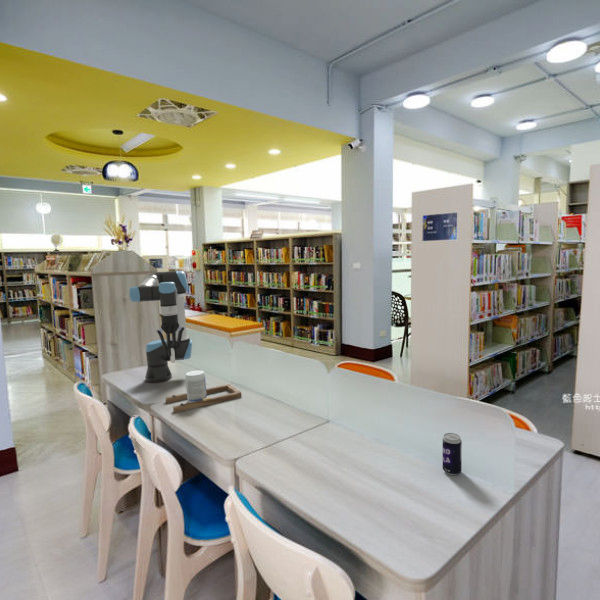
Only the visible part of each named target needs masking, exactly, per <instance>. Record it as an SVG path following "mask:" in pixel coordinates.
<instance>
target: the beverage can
mask: <svg viewBox="0 0 600 600" xmlns="http://www.w3.org/2000/svg"><path fill="white" fill-rule="evenodd" d="M462 445H463V444H462V439H461V436H460V435H459V434H457V433H455V432H447V433H444V434H443V437H442V470H443V471H444V472H445V473H446V474H447V475H450V476H458V475H459V474H460V473H461V472H462V461H463V460H462V455H463V454H462V453H463V451H462V447H463V446H462Z"/></svg>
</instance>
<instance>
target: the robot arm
mask: <svg viewBox="0 0 600 600" xmlns="http://www.w3.org/2000/svg"><path fill="white" fill-rule="evenodd" d="M188 290H189V284H188V280H187V275H186V273H185V271H183V270H172V271H157V272H152V273H150V274H147V275H145V276H144V277H143V278H142V280H141V282H140V284H139V285H137V286H131V287H129V293H128V294H129V300H130V301H131V302H133V303H139V302H140V303H141V302H155V301H159V304H160V305H159V307H160V320H161V324H160V328H159V329H157V330H156V333H157V334H158V336H159V338H160V339H157V340H153V341H150V342H148V343H147V344H146V345H145V353H146V362H147V364H146V365H147V368H146V374H145V380H144V381H145V382H147V383H160V382H161V383H162V382H166V381H169V380H171V379H172V378H173V374H172V371H171V369H170V367H169V362H170V363H172V364H174V363H176V361H184V360H189V359H191V357H192V349H193V348H192V347H193V339H190V336H189V335H188V334H187V323H186V321H187V320H186V309H185V308H186V307H185V306H186V305H185V295H186V294H187V291H188ZM163 332H164V333H165V336H166V339H165V338H164V335H163Z"/></svg>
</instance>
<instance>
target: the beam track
mask: <svg viewBox="0 0 600 600" xmlns="http://www.w3.org/2000/svg"><path fill="white" fill-rule="evenodd" d="M224 391H228V392H230V393H227V394H222V395H218V396H212V397H210V396H209V397H208V396H207V398H203V399H202V400H200V401H195V402H191V403H189V402H186V403H180V404H179V405H173V406H172V409H173V410H172V411H173V413H180V412H183V411H188V410H193V409H195V408H201V407H205V406H209V405H213V404H217V403H222V402H225V401H231V400H234V399H239V398H241V397H242V396H243V395H242V392H241V391H240V390H238V389H237V388H236V387H234V386H233V385H231V384H230V383H227V384H222V385H219V386H218V385H217V386H212V387H208V388H206V393H207V395H210V394H211V395H212V394H214V393H218V392H224ZM184 400H187V392H185V393H181V394H177V395H176V394H172V395H171V396H167V397H165V403H166V404H170V403H173V402H179V401H184Z"/></svg>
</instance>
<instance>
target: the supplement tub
mask: <svg viewBox="0 0 600 600" xmlns="http://www.w3.org/2000/svg"><path fill="white" fill-rule="evenodd" d="M185 386H186V387H185V388H186V393H187V399H186V400H187V403H191V402H195V401H200V400H202V399H203V398H207V397H208V396H207V395H208V394H207V393H206V389H207V383H206V373H205V371H204V370H192V371H188V372H186V373H185Z"/></svg>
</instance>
